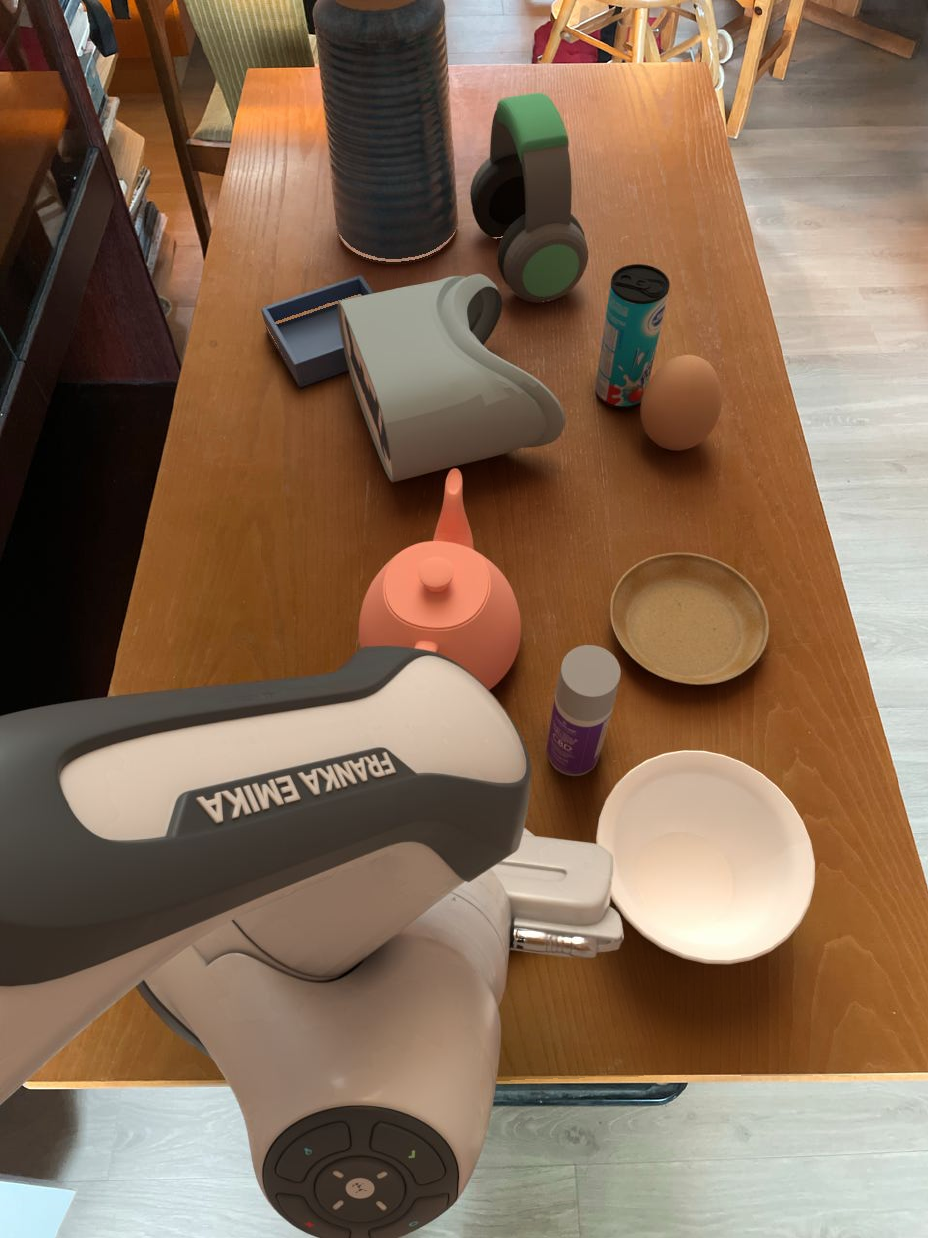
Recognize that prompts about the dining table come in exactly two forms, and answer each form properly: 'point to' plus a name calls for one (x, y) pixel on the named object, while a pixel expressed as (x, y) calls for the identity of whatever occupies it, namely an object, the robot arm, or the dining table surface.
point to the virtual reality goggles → (440, 377)
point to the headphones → (530, 200)
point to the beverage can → (630, 334)
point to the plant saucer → (689, 618)
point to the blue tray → (312, 330)
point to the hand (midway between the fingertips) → (456, 816)
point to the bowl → (707, 857)
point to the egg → (681, 403)
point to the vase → (388, 124)
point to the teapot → (446, 599)
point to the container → (582, 709)
